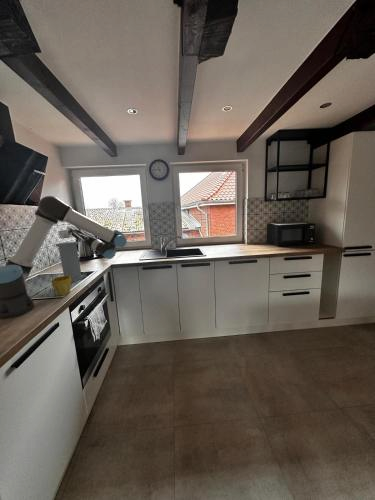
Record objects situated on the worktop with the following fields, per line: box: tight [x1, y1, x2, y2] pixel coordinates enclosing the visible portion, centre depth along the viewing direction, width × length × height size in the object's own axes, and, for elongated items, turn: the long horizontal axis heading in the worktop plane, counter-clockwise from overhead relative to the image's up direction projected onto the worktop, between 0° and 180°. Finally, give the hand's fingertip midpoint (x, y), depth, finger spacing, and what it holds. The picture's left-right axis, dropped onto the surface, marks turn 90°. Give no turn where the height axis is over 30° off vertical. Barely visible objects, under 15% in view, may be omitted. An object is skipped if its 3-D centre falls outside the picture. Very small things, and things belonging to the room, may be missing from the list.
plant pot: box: [50, 275, 73, 296], centre depth 123 cm, size 10×10×10 cm
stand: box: [55, 241, 85, 283], centre depth 147 cm, size 10×10×28 cm
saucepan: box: [58, 229, 82, 239], centre depth 142 cm, size 17×9×5 cm, turn 71°
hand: (69, 227), depth 141 cm, fingers closed on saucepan, 2 cm apart
